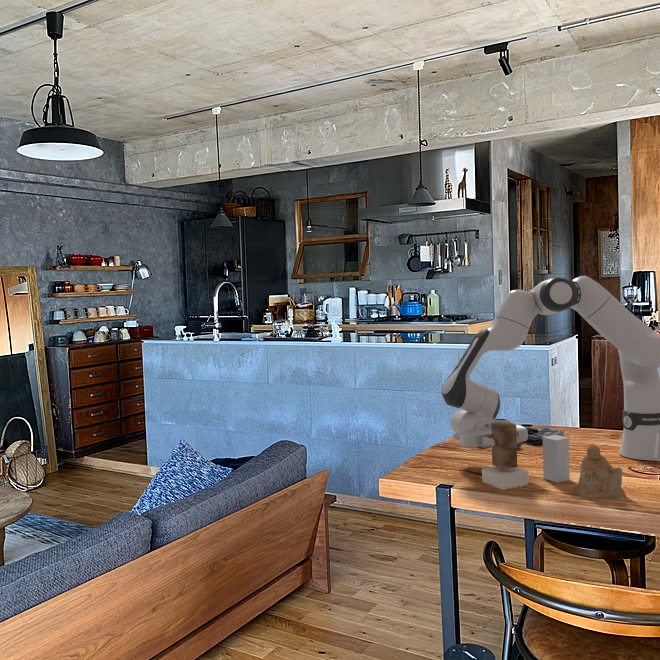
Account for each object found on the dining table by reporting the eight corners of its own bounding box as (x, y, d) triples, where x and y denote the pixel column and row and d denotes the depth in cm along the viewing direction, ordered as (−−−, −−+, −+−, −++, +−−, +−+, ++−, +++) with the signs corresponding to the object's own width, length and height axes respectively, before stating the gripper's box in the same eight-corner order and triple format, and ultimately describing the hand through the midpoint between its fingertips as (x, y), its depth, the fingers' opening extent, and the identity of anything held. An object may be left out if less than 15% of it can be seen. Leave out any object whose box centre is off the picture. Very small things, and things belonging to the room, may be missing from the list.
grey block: (555, 475, 192) (555, 434, 192) (569, 479, 188) (568, 437, 187) (543, 478, 190) (542, 437, 189) (557, 482, 186) (556, 440, 185)
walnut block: (508, 462, 190) (507, 421, 189) (517, 467, 185) (516, 424, 184) (492, 464, 189) (491, 422, 188) (501, 469, 184) (500, 426, 183)
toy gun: (506, 455, 218) (473, 447, 231) (569, 439, 237) (535, 432, 249) (506, 445, 218) (472, 437, 231) (569, 429, 237) (535, 423, 249)
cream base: (507, 477, 193) (507, 464, 193) (528, 485, 185) (528, 471, 185) (482, 483, 189) (481, 469, 189) (503, 491, 181) (502, 476, 181)
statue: (603, 444, 184) (622, 442, 174) (612, 497, 180) (632, 497, 171) (561, 448, 182) (578, 445, 173) (569, 501, 179) (587, 501, 169)
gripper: (450, 424, 196) (471, 434, 183) (512, 418, 201) (537, 427, 188) (450, 445, 197) (472, 456, 183) (513, 439, 202) (538, 449, 188)
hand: (505, 441), depth 186 cm, fingers closed on walnut block, 5 cm apart
